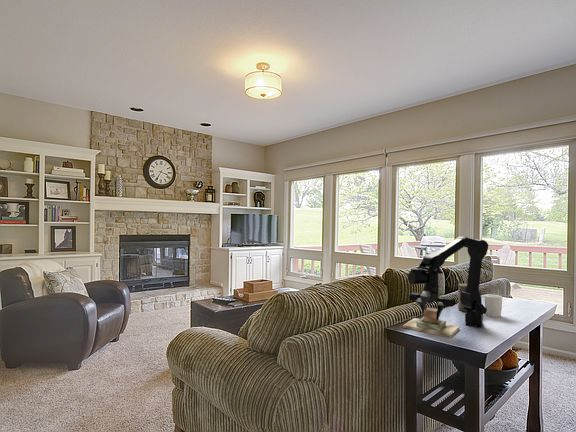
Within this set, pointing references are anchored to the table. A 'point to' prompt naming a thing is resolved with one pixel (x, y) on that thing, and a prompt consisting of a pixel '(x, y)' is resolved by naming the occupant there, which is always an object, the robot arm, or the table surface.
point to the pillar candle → (461, 288)
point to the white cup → (493, 305)
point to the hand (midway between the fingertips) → (431, 318)
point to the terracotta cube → (430, 315)
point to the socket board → (432, 327)
